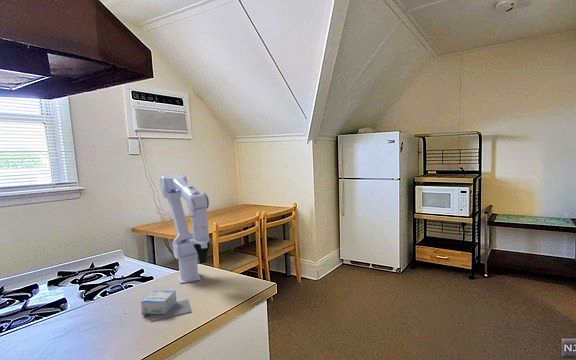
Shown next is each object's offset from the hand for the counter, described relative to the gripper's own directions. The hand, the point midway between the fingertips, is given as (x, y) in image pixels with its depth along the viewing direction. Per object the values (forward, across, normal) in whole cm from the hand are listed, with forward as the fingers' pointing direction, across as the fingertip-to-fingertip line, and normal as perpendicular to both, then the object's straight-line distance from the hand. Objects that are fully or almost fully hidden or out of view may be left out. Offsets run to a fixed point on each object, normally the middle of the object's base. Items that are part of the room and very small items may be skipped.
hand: (203, 262), depth 122 cm
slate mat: (+10, +11, -13) cm, 20 cm away
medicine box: (+8, +5, -14) cm, 17 cm away
